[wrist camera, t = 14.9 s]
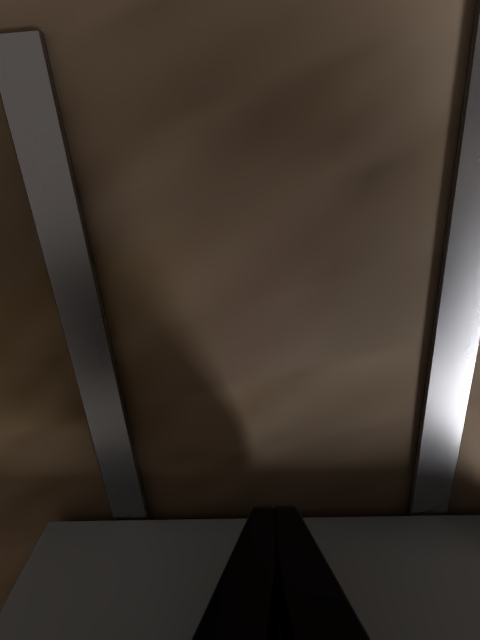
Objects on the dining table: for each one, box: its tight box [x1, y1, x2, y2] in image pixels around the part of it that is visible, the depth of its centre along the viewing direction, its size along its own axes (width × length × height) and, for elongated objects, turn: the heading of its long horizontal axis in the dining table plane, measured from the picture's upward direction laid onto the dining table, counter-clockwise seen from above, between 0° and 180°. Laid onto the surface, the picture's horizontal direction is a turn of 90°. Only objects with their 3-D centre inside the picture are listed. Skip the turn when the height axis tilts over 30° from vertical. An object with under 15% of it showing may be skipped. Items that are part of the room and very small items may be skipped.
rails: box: [0, 0, 480, 521], centre depth 11 cm, size 8×23×1 cm, turn 4°
